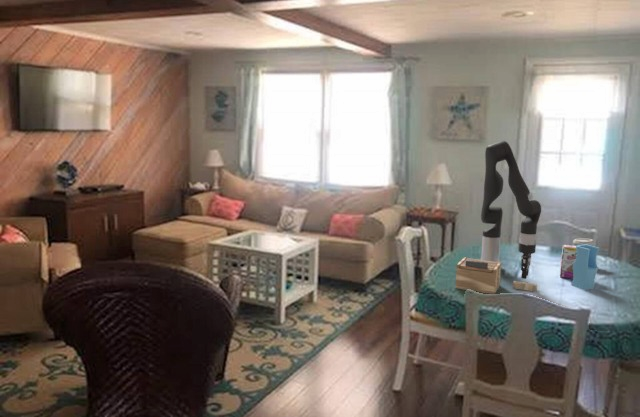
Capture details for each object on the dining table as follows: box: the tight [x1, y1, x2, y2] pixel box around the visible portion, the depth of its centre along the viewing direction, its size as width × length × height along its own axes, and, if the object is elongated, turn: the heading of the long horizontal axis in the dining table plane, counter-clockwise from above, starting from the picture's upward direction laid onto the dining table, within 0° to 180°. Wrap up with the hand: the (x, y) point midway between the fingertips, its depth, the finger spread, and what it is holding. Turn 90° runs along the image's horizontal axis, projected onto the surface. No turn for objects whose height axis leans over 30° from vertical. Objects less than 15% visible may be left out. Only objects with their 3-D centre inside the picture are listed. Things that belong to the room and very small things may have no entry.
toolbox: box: [455, 256, 503, 295], centre depth 264 cm, size 15×18×12 cm
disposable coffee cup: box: [572, 238, 595, 246], centre depth 302 cm, size 11×11×15 cm
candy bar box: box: [559, 244, 577, 280], centre depth 280 cm, size 11×5×16 cm, turn 71°
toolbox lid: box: [460, 257, 498, 272], centre depth 263 cm, size 15×15×4 cm
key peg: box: [512, 280, 538, 292], centre depth 263 cm, size 3×3×10 cm
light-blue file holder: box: [570, 244, 601, 291], centre depth 265 cm, size 8×8×20 cm
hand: (524, 276), depth 262 cm, fingers open, 5 cm apart
